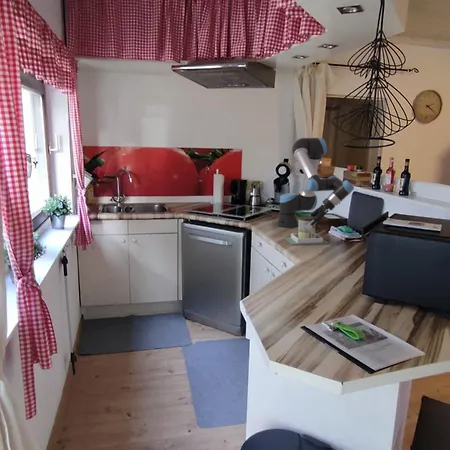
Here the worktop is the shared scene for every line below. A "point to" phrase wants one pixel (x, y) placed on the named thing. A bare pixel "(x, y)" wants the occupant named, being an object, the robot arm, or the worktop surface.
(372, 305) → the worktop surface
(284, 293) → the worktop surface
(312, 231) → the coffee can
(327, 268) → the worktop surface
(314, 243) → the mount plate
